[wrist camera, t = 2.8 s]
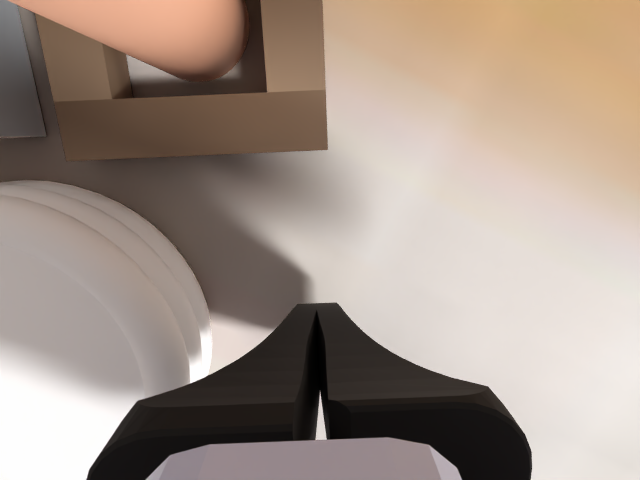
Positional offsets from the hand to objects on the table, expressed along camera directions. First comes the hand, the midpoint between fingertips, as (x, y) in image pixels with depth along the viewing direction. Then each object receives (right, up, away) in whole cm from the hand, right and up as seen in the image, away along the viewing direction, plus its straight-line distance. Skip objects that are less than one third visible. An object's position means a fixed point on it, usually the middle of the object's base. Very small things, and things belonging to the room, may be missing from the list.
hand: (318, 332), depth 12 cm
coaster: (-8, 0, +1) cm, 9 cm away
